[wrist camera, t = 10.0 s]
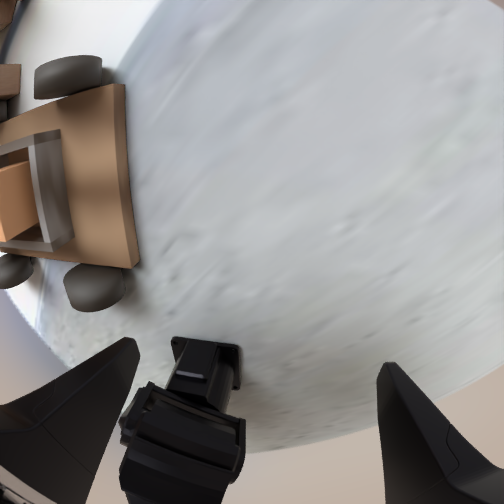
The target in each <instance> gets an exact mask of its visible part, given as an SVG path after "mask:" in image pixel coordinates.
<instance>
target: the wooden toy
mask: <svg viewBox="0 0 504 504" xmlns="http://www.w3.org/2000/svg"><path fill="white" fill-rule="evenodd" d="M16 1H22V0H0V31H1V30H2V29H3V28H5V27H6V26H7V25H8V24H10V23H11V22H12V18H13V13H14V9H15V4H16ZM20 71H21V64H0V101H6V100H8V99H10V98H12V97H14V96H15V95H17V94H19V92H20Z"/></svg>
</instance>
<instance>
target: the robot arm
mask: <svg viewBox="0 0 504 504" xmlns="http://www.w3.org/2000/svg"><path fill="white" fill-rule="evenodd" d="M171 346H172V350H173V354H174V358H175V362H176V364H175V366H174V369H173V371H172V373H171V375H170V378H169V380H168V382H167V384H166V387H165V389H163V388H161V387H158V386H156V385H155V384H154V383H152V382H150V381H149V382H148V384H147V386H146V387H143V388H139V389H138V391H137V393H136V394H135V396H134V398H133V400H132V402H131V403H130V405H129V406H128V407H127V409H126V410H125V412H124V413H123V414H122V416H121V417H120V419H119V422H118V423H119V426H120V428H121V435H122V436H121V439H120V444H122V445H124V446H126V447H127V450H126V452H125V455H124V457H123V460H122V462H121V465H120V468H119V473H120V475H119V481H120V485H121V490H122V491H125V494H126V497H127V500H128V503H129V504H221V502H222V499H223V497H224V494H225V491H226V489H227V486H228V484H232V483H234V482H235V480H236V479H237V478H238V476H239V474H240V472H241V470H242V467H243V464H244V460H245V450H246V420H245V419H242V418H236V417H233V416H230V415H227V414H226V410H227V405H228V401H229V397H230V393H231V390H239V389H240V386H241V378H240V349H239V347H238V346H237V345H234V344H226V343H218V342H210V341H202V340H195V339H189V338H182V337H173V338H172V339H171ZM232 349H234V350H232ZM139 360H140V352H139V349H138V346H137V343H136V341H135V339H133V338H129V337H124V338H122V339H120V340H119V341H117V342H115V343H114V344H112V345H110V346H109V347H107V348H105V349H104V350H102V351H101V352H99V353H97V354H96V355H94V356H92V357H91V358H89V359H87V360H86V361H84V362H82V363H81V364H79V365H77V366H76V367H74V368H73V369H71V370H69V371H68V372H66V373H64V374H63V375H61V376H59V377H58V378H56V379H54V380H53V381H51V382H49V383H48V384H46V385H44V386H43V387H41V388H39V389H37V390H35V391H33V392H31V393H29V394H27V395H25V396H22V397H20V398H18V399H16V400H14V401H12V402H10V403H7V404H4V405H0V504H85V503H86V500H87V497H88V494H89V492H90V489H91V486H92V483H93V480H94V478H95V475H96V472H97V470H98V467H99V464H100V462H101V459H102V457H103V454H104V452H105V449H106V446H107V444H108V442H109V439H110V437H111V434H112V432H113V429H114V427H115V425H116V422H117V420H118V418H119V415H120V413H121V410H122V408H123V406H124V404H125V401H126V399H127V397H128V394H129V392H130V389H131V386H132V382H133V379H134V376H135V373H136V370H137V367H138V364H139ZM376 384H377V412H378V425H379V433H380V441H381V450H382V460H383V470H384V482H385V500H386V504H504V469H501V468H499V467H497V466H495V465H493V464H492V463H491V462H490V461H489V460H487V459H486V458H485V457H484V456H483V455H482V454H481V453H480V452H479V451H478V450H477V449H475V448H474V447H473V446H472V445H471V444H470V443H469V442H468V441H467V440H466V439H465V438H464V437H463V436H462V435H461V434H460V433H459V432H458V430H456V428H455V427H454V426H453V425H452V424H450V422H449V420H448V419H447V418H446V417H445V416H444V415H443V414H442V413H441V411H440V410H439V409H438V408H437V407H436V406H435V405H434V404H433V403H432V401H431V400H430V399H429V398H428V397H427V396H426V395H425V394H424V393H423V392H422V390H421V389H420V388H419V387H418V386H417V385H416V384H415V383H414V382H413V381H412V379H411V378H410V377H409V376H408V375H407V374H406V373H405V372H404V371H403V370H402V369H401V368H400V367H399V365H398V364H397V363H395V362H385V363H384V364H383V365H382V368H381V370H380V372H379V374H378V377H377V382H376Z"/></svg>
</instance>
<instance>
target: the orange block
mask: <svg viewBox="0 0 504 504" xmlns="http://www.w3.org/2000/svg"><path fill="white" fill-rule="evenodd" d="M38 222H40V221H39V217H38V212H37V207H36V202H35V196H34V190H33V184H32V177H31V169H30V160H27V161H23V162H19V163H15V164H12V165H9V166H6V167H4V168H1V169H0V241H1V242H7V241H8V240H10V239H12V238H13V237H15V236H16V235H18V234H20V233H21V232H23V231H25V230H26V229H28V228H30V227H31V226H33V225H35V224H37V223H38Z"/></svg>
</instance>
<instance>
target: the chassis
mask: <svg viewBox="0 0 504 504" xmlns="http://www.w3.org/2000/svg"><path fill="white" fill-rule="evenodd" d="M101 74H102V59H101V58H100V57H97V56H91V55H78V56H69V57H64V58H60V59H56V60H53V61H50V62H47V63H45V64H43V65H41V66H39V67H38V68H37V69H36V70H35V77H34V99H39V100H43V99H53V98H60V97H65V96H68V97H65V98H62V99H59V100H56V101H53V102H50V103H48V104H45V105H42V106H40V107H37V108H35V109H32V110H30V111H27V112H25V113H23V114H20V115H18V116H16V117H14V118H11V119H9V120H7V101H0V169H1V168H4V167H6V166H9V165H12V164H15V163H19V162H23V161H27V160H30V169H31V177H32V184H33V190H34V196H35V202H36V207H37V212H38V217H39V221H40V222H38V223H37V224H35V225H33V226H31V227H30V228H28V229H26V230H25V231H23V232H21V233H20V234H18V235H16V236H15V237H13V238H12V239H10V240H8V241H7V242H1V241H0V251H1V252H4V253H7V254H5V255H3V256H1V257H0V289H8V288H12V287H15V286H17V285H19V284H21V283H23V282H24V281H26V280H27V279H28V278H29V277H30V276H31V275H32V273H33V267H32V263H31V260H30V257H29V256H32V257H39V258H47V259H54V260H62V261H70V262H78V263H81V264H79V265H77V266H75V267H74V268H72V269H71V270H69V271H68V272H67V274H66V275H65V276H64V279H63V283H64V286H65V289H66V292H67V295H68V298H69V301H70V304H71V306H72V307H73V308H74V309H76V310H78V311H81V312H96V311H100V310H104V309H106V308H109V307H111V306H112V305H114V304H116V303H117V302H118V301H119V300H120V299H121V298H122V297H123V295H124V294H125V284H124V280H123V276H122V271H121V268H130V269H132V268H133V267H134V266H135V265H136V264H137V263H138V262H139V261H140V257H139V251H138V245H137V238H136V232H135V225H134V218H133V210H132V202H131V194H130V184H129V174H128V162H127V148H126V129H125V85H123V84H114V83H113V84H109V85H105V86H101ZM100 86H101V87H100Z"/></svg>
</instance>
